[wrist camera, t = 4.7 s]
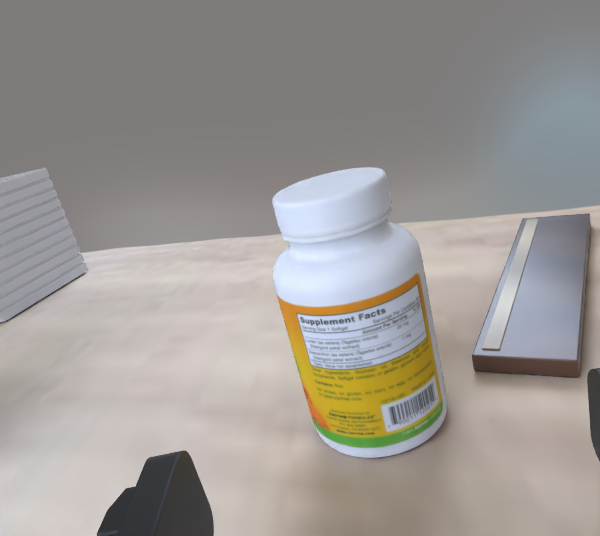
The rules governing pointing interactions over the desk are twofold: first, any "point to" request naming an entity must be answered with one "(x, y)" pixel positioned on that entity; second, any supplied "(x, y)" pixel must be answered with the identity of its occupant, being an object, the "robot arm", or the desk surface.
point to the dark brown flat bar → (539, 301)
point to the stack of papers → (33, 242)
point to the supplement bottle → (358, 315)
